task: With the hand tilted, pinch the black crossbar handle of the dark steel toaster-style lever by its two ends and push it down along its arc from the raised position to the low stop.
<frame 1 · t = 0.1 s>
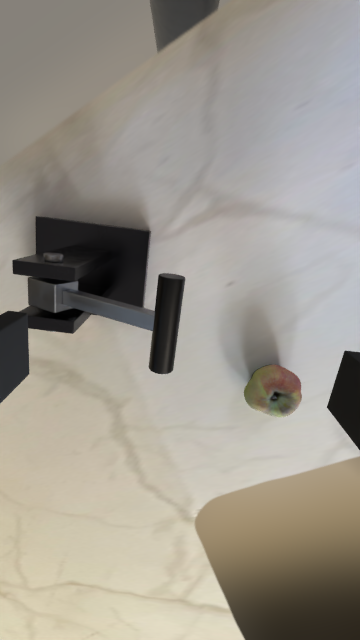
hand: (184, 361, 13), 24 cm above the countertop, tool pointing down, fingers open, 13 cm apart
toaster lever: (102, 306, 23), point 14 cm above the countertop, hinge at 25.0°
apple: (270, 377, 40), on the countertop
black lever stand: (94, 269, 36), on the countertop
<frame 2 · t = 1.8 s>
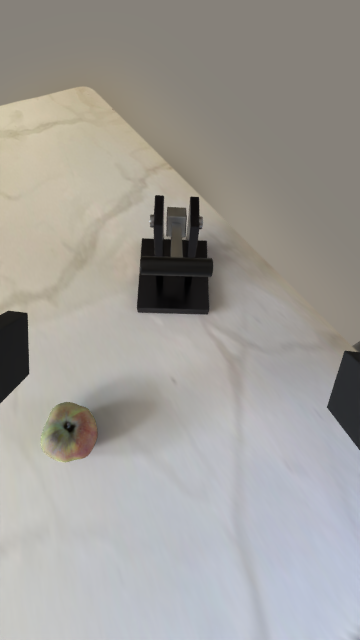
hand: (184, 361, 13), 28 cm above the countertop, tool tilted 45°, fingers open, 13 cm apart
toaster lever: (176, 240, 33), point 14 cm above the countertop, hinge at 25.0°
apple: (78, 439, 37), on the countertop
black lever stand: (173, 277, 47), on the countertop
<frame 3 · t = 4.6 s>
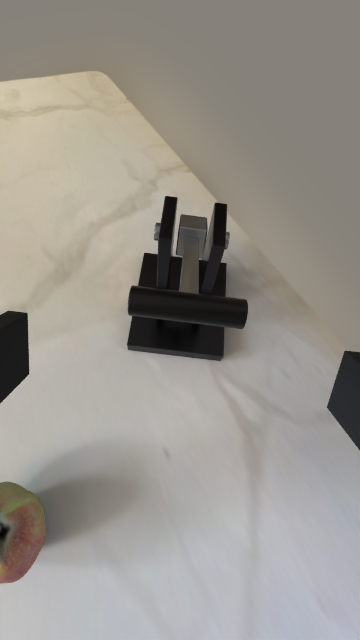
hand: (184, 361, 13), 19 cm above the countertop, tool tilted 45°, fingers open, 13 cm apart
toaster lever: (190, 263, 22), point 14 cm above the countertop, hinge at 25.0°
apple: (19, 534, 26), on the countertop
black lever stand: (179, 307, 36), on the countertop
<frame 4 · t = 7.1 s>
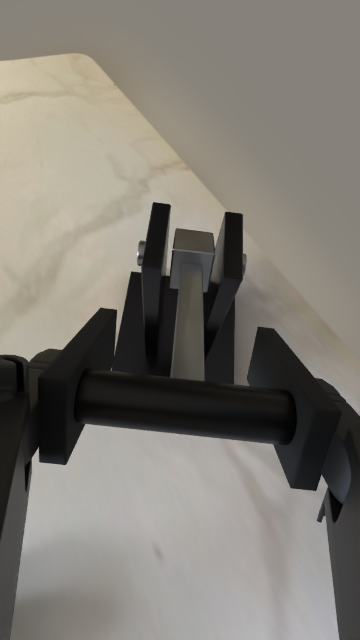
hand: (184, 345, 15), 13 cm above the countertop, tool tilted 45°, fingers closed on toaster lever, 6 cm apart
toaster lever: (189, 308, 14), point 14 cm above the countertop, hinge at 25.0°, touching gripper
black lever stand: (176, 341, 28), on the countertop
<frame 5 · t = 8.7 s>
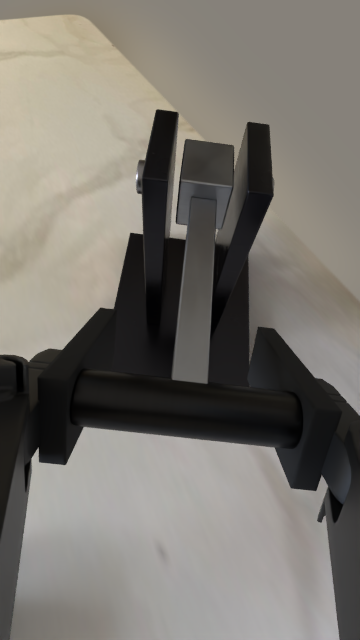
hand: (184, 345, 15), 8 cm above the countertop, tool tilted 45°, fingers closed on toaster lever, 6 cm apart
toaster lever: (197, 268, 12), point 12 cm above the countertop, hinge at 1.1°, touching gripper
black lever stand: (181, 310, 25), on the countertop
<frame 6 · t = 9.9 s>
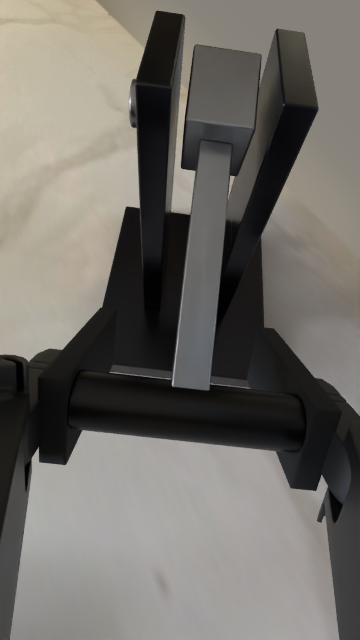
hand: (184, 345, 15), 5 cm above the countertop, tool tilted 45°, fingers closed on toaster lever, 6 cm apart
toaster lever: (204, 243, 10), point 11 cm above the countertop, hinge at -17.5°, touching gripper
black lever stand: (184, 294, 22), on the countertop
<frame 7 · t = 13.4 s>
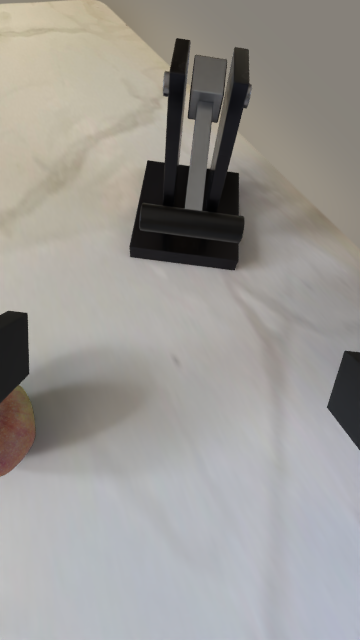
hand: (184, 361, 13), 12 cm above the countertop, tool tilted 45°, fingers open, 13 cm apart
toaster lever: (199, 150, 21), point 11 cm above the countertop, hinge at -17.6°
apple: (4, 442, 22), on the countertop
black lever stand: (187, 217, 33), on the countertop
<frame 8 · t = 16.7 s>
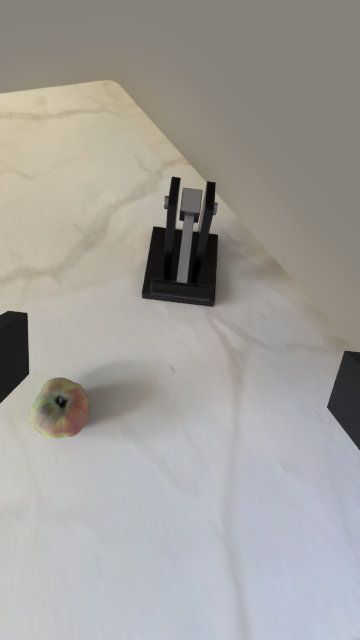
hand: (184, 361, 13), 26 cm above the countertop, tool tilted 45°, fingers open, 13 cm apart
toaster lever: (186, 244, 35), point 11 cm above the countertop, hinge at -17.6°
apple: (68, 419, 36), on the countertop
black lever stand: (181, 267, 47), on the countertop
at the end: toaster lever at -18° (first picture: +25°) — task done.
